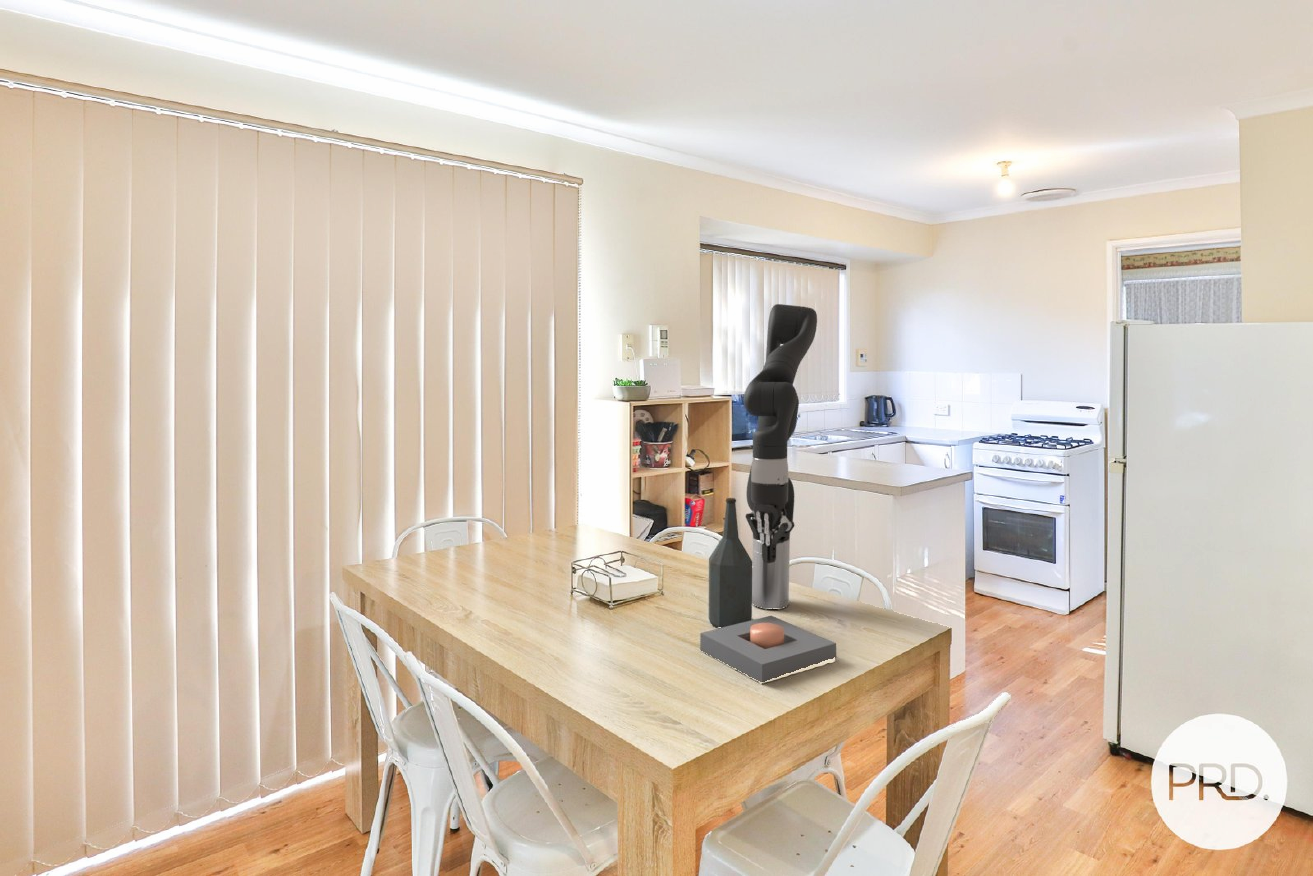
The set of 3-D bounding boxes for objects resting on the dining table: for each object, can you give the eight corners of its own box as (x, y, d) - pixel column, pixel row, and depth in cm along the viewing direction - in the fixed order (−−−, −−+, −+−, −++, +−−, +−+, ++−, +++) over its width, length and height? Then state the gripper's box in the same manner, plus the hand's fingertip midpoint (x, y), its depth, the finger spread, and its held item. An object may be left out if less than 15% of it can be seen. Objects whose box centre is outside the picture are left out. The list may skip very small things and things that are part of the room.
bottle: (754, 618, 182) (756, 495, 179) (748, 632, 173) (749, 503, 170) (712, 614, 185) (713, 493, 182) (704, 628, 176) (704, 501, 172)
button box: (700, 651, 162) (700, 633, 161) (771, 632, 173) (771, 615, 172) (761, 684, 145) (762, 664, 145) (835, 661, 156) (836, 643, 156)
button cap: (743, 645, 160) (743, 627, 159) (768, 638, 164) (768, 620, 163) (765, 656, 154) (765, 637, 153) (790, 649, 158) (791, 630, 157)
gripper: (735, 477, 159) (734, 558, 160) (777, 485, 148) (777, 572, 149) (762, 474, 163) (761, 552, 164) (805, 481, 152) (804, 566, 153)
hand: (769, 561), depth 157 cm, fingers closed
